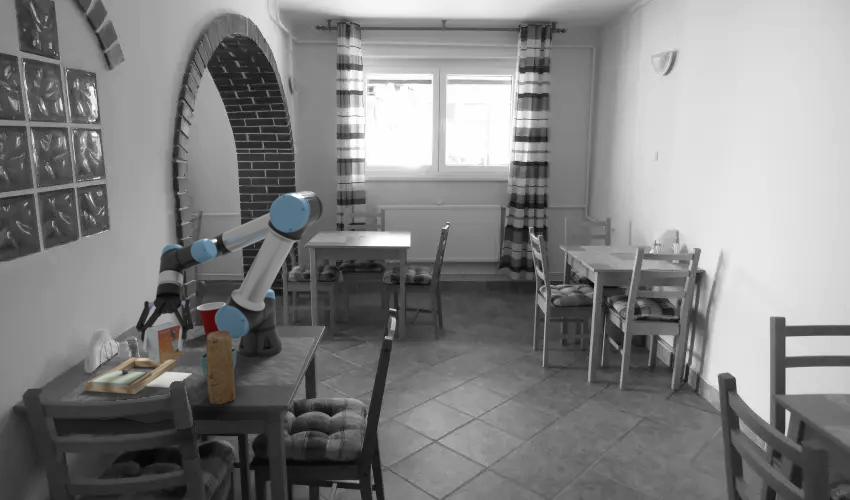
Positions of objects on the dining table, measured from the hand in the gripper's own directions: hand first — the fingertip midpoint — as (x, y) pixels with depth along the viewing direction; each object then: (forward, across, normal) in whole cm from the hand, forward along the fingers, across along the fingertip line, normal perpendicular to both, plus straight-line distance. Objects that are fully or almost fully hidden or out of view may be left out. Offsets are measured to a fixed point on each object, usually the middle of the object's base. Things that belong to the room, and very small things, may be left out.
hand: (162, 349), depth 179 cm
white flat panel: (+6, -1, -10) cm, 12 cm away
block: (+18, -19, +2) cm, 26 cm away
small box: (+1, 0, -5) cm, 5 cm away
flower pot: (+8, -16, -8) cm, 20 cm away
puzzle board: (+3, +11, -13) cm, 17 cm away
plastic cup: (-26, -8, -42) cm, 50 cm away
